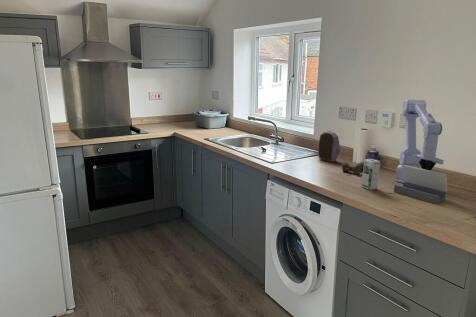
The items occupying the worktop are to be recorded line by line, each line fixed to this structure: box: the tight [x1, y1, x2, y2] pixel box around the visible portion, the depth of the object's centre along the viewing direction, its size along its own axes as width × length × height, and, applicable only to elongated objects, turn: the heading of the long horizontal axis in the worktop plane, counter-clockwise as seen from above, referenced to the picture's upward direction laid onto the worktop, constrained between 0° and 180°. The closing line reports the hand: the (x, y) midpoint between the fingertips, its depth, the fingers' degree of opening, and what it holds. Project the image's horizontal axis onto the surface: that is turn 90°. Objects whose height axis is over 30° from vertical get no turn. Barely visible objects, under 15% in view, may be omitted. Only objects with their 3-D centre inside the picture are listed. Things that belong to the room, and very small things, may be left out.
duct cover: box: [403, 165, 448, 193], centre depth 174 cm, size 20×10×1 cm
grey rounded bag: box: [317, 130, 341, 162], centre depth 238 cm, size 15×8×20 cm, turn 41°
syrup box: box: [360, 158, 382, 191], centre depth 182 cm, size 6×6×14 cm
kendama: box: [341, 161, 364, 176], centre depth 213 cm, size 6×10×20 cm
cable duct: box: [393, 182, 447, 204], centre depth 173 cm, size 20×10×4 cm, turn 39°
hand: (425, 175), depth 174 cm, fingers closed
